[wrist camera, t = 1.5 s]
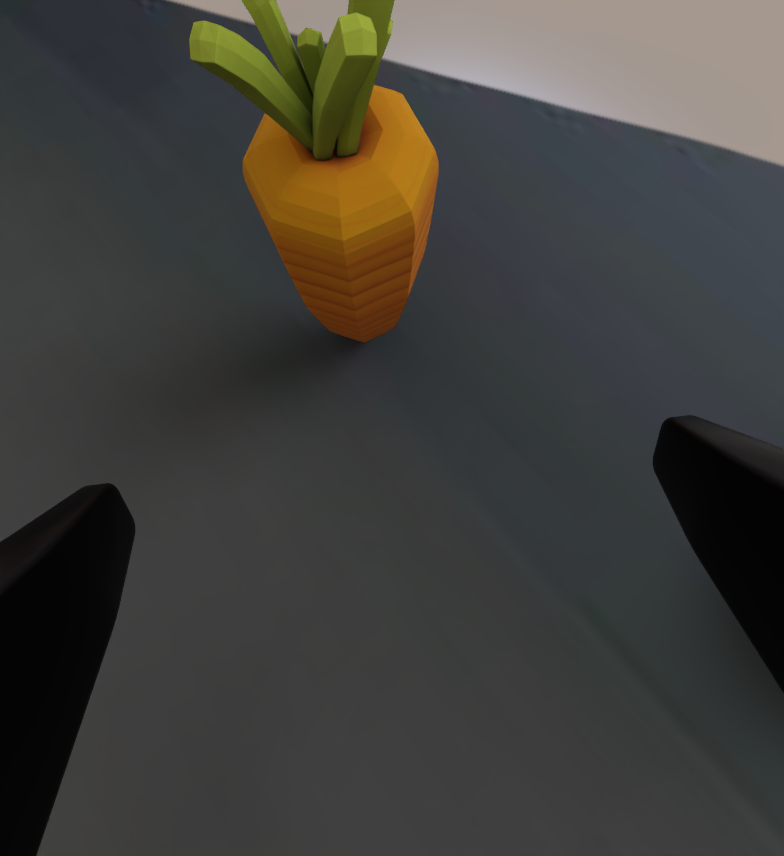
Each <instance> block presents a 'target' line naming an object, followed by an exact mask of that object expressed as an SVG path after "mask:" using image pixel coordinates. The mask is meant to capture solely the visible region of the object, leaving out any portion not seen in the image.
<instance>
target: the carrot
mask: <svg viewBox="0 0 784 856" xmlns="http://www.w3.org/2000/svg"><path fill="white" fill-rule="evenodd" d="M242 2H243V3H244V5H245V6H246V8H247V10H248V11H249V13H250V14H251V16H252V18H253V20H254V22H255V24H256V26H257V28H258V29H259V31H260V33H261V35H262V37H263V39H264V41H265V43H266V45H267V47H268V49H269V51H270V53H271V55H272V57H273V59H274V61H275V63H276V65H277V67H278V68H279V70H280V72H281V74H282V76H283V78H284V79H283V78H282V77H281V75H280V74H279V73H278V72H277V70H276V69H275V68H274V66H273V65H272V64H271V63H270V61H269V60H268V59H267V58H266V56H265V55H264V54H263V53H262V52H260V51H259V50H258V49H256V48H255V47H254V46H252V45H251V44H250V43H249V42H247V41H246V40H245V39H243V38H242V37H241V36H240V35H238V34H236V33H234V32H232V31H230V30H228V29H226V28H224V27H222V26H220V25H217V24H214V23H210V22H207V21H199V22H194V23H193V27H192V31H191V35H190V39H189V43H190V56H191V60H193V61H194V62H196V63H197V64H199V65H200V66H202V67H203V68H205V69H206V70H208V71H210V72H211V73H213V74H215V75H216V76H218V77H220V78H221V79H223V80H224V81H226V82H228V83H229V84H231V85H232V86H233V87H234V88H236V89H237V90H238V91H239V92H241V93H242V94H243V95H244V96H245V97H247V98H248V99H249V100H250V101H251V102H253V103H254V104H255V105H256V106H257V107H259V108H260V109H261V110H262V111H264V112H265V114H264V116H263V118H262V121H261V123H260V125H259V127H258V129H257V131H256V133H255V135H254V138H253V140H252V142H251V144H250V146H249V148H248V150H247V152H246V155H245V157H244V159H243V174H244V178H245V182H246V184H247V187H248V189H249V191H250V193H251V195H252V197H253V199H254V202H255V204H256V206H257V208H258V210H259V212H260V214H261V216H262V219H263V221H264V223H265V225H266V227H267V229H268V231H269V233H270V235H271V237H272V240H273V242H274V244H275V246H276V248H277V250H278V252H279V254H280V256H281V258H282V260H283V262H284V264H285V266H286V268H287V270H288V272H289V274H290V277H291V279H292V281H293V282H294V284H295V286H296V288H297V290H298V292H299V294H300V296H301V298H302V299H303V301H304V303H305V305H306V307H307V308H308V309H309V310H310V311H311V312H312V314H313V315H314V316H315V317H316V318H317V319H318V320H319V321H320V322H321V323H322V324H323V325H324V326H325V327H326V328H327V329H328V330H329V331H331V332H334V333H337V334H339V335H342V336H345V337H348V338H351V339H354V340H357V341H360V342H364V343H365V342H367V341H369V340H371V339H374V338H376V337H378V336H380V335H382V334H385V333H386V332H388V331H389V330H391V329H392V328H394V327H395V325H396V323H397V322H398V320H399V318H400V316H401V314H402V311H403V309H404V307H405V304H406V302H407V299H408V296H409V294H410V291H411V288H412V285H413V283H414V280H415V277H416V274H417V272H418V269H419V266H420V264H421V261H422V258H423V255H424V252H425V247H426V242H427V237H428V232H429V227H430V222H431V217H432V211H433V205H434V198H435V192H436V185H437V179H438V172H439V171H438V158H437V155H436V151H435V149H434V147H433V145H432V144H431V142H430V140H429V138H428V137H427V135H426V133H425V132H424V130H423V128H422V127H421V125H420V123H419V122H418V120H417V118H416V116H415V115H414V113H413V111H412V110H411V108H410V106H409V105H408V103H407V101H406V99H405V98H404V96H403V94H401V93H398V92H396V91H393V90H390V89H387V88H383V87H379V86H376V85H374V83H375V79H376V76H377V72H378V69H379V65H380V62H381V59H382V56H383V54H384V51H385V49H386V46H387V43H388V41H389V38H390V36H391V31H392V24H393V21H392V20H391V19H390V17H391V13H392V8H393V4H394V0H349V6H348V14H347V15H345V16H341V17H339V18H338V21H337V23H336V26H335V28H334V30H333V33H332V35H331V37H330V40H329V42H328V45H327V47H326V50H325V46H324V42H323V38H322V34H321V32H318V31H316V30H313V29H310V28H305V29H304V30H303V32H302V33H301V34H300V35H299V36H298V37H297V38H298V50H299V54H300V57H301V60H302V63H303V65H302V63H301V60H300V58H299V55H298V53H297V51H296V48H295V46H294V43H293V41H292V38H291V36H290V33H289V31H288V28H287V26H286V23H285V21H284V19H283V17H282V14H281V12H280V10H279V7H278V5H277V2H276V0H242ZM303 66H304V67H303ZM304 69H305V70H304Z"/></svg>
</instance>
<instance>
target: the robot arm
mask: <svg viewBox="0 0 784 856" xmlns="http://www.w3.org/2000/svg"><path fill="white" fill-rule="evenodd" d="M653 468H654V471H655V474H656V476H657V478H658V480H659V482H660V484H661V486H662V488H663V490H664V492H665V494H666V496H667V498H668V500H669V502H670V504H671V506H672V508H673V511H674V513H675V515H676V517H677V519H678V521H679V523H680V525H681V527H682V529H683V531H684V533H685V535H686V537H687V539H688V541H689V543H690V545H691V546H692V548H693V550H694V552H695V553H696V555H697V557H698V558H699V560H700V562H701V563H702V565H703V567H704V568H705V570H706V571H707V573H708V575H709V576H710V578H711V579H712V581H713V582H714V584H715V586H716V587H717V589H718V590H719V592H720V594H721V595H722V597H723V598H724V600H725V601H726V603H727V605H728V606H729V608H730V609H731V611H732V612H733V614H734V616H735V617H736V619H737V620H738V622H739V624H740V625H741V627H742V628H743V630H744V631H745V633H746V635H747V636H748V638H749V639H750V641H751V643H752V644H753V646H754V647H755V649H756V650H757V652H758V654H759V655H760V657H761V658H762V660H763V662H764V663H765V665H766V666H767V668H768V669H769V671H770V673H771V674H772V676H773V677H774V679H775V681H776V682H777V684H778V685H779V687H780V688H781V690H782V692H783V693H784V449H782V448H780V447H777V446H774V445H772V444H769V443H766V442H764V441H761V440H758V439H755V438H753V437H750V436H747V435H745V434H742V433H739V432H737V431H734V430H731V429H729V428H726V427H723V426H720V425H718V424H715V423H712V422H710V421H707V420H704V419H702V418H699V417H696V416H691V415H688V416H679V417H671V418H668V419H666V420H665V421H664V422H663V423H662V426H661V429H660V433H659V437H658V440H657V444H656V448H655V452H654V455H653ZM134 537H135V523H134V519H133V517H132V515H131V513H130V511H129V509H128V508H127V506H126V504H125V502H124V500H123V498H122V496H121V494H120V492H119V490H118V489H117V488H116V487H115V486H114V485H113V484H109V483H106V484H97V485H89V486H85V487H82V488H81V489H79V490H78V491H76V492H75V493H73V494H72V495H70V496H69V497H67V498H66V499H64V500H63V501H61V502H60V503H58V504H57V505H55V506H54V507H52V508H51V509H49V510H48V511H46V512H45V513H43V514H42V515H40V516H39V517H37V518H36V519H34V520H33V521H31V522H30V523H28V524H27V525H25V526H24V527H22V528H21V529H19V530H18V531H16V532H15V533H13V534H12V535H10V536H9V537H8V538H6V539H5V540H3V541H2V542H0V856H36V855H37V852H38V849H39V846H40V843H41V840H42V838H43V835H44V832H45V829H46V826H47V823H48V820H49V817H50V814H51V811H52V808H53V805H54V802H55V799H56V796H57V793H58V790H59V787H60V784H61V781H62V778H63V775H64V772H65V770H66V767H67V764H68V761H69V758H70V755H71V752H72V749H73V746H74V743H75V740H76V737H77V734H78V731H79V728H80V725H81V722H82V719H83V716H84V713H85V710H86V707H87V705H88V702H89V699H90V696H91V693H92V690H93V687H94V684H95V681H96V678H97V675H98V672H99V669H100V666H101V663H102V660H103V657H104V654H105V651H106V648H107V645H108V642H109V639H110V637H111V633H112V630H113V627H114V624H115V621H116V617H117V613H118V609H119V605H120V601H121V596H122V592H123V587H124V582H125V578H126V573H127V569H128V564H129V559H130V555H131V550H132V546H133V541H134Z"/></svg>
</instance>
